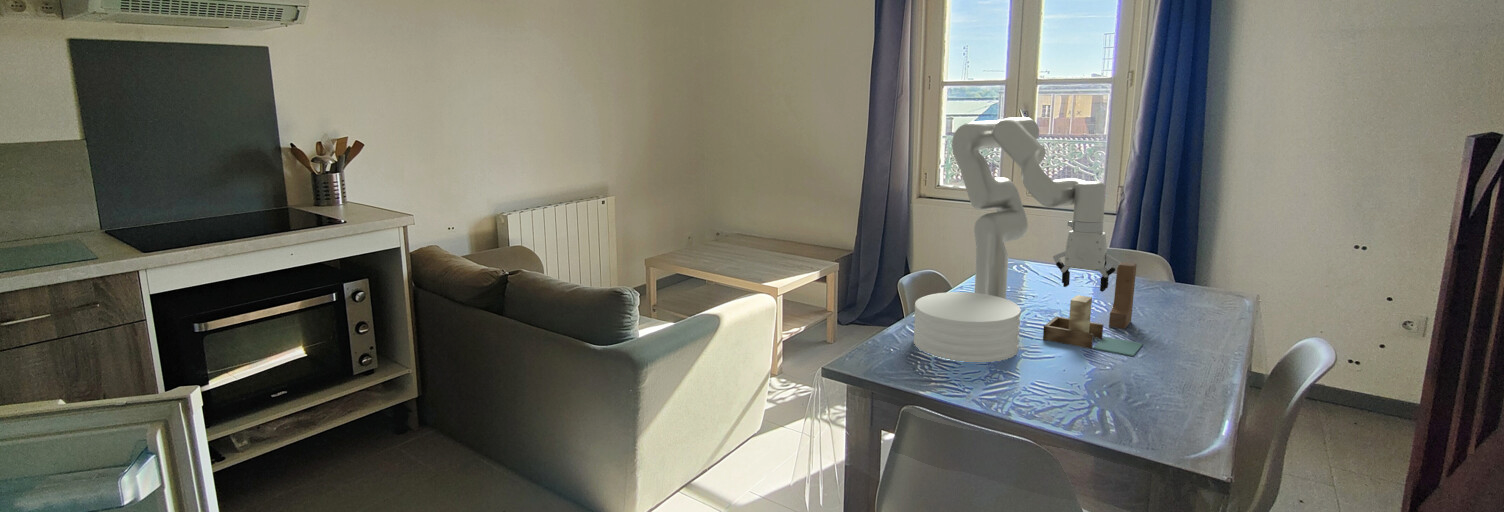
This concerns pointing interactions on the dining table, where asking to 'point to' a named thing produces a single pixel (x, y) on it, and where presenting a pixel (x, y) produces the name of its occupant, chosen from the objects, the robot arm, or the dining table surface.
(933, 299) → the plate stack
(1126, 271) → the wooden block
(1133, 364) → the dining table surface
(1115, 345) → the mat
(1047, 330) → the crate
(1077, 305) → the birch block
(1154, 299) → the dining table surface
